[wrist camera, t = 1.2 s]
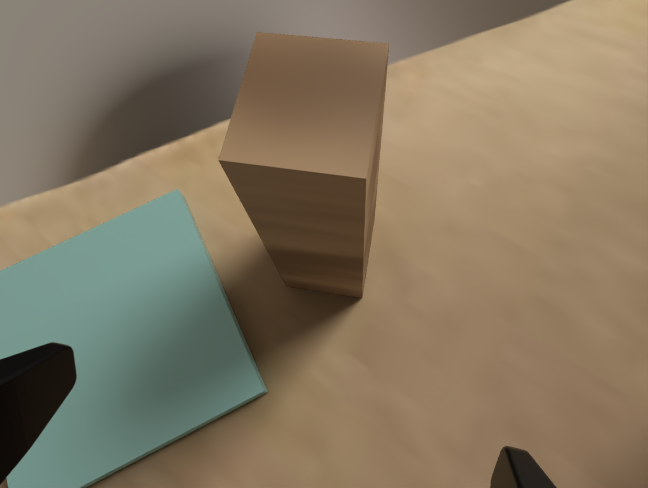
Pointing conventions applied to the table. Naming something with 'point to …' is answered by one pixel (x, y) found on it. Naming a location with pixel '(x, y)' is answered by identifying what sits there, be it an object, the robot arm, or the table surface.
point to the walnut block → (310, 155)
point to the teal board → (126, 342)
